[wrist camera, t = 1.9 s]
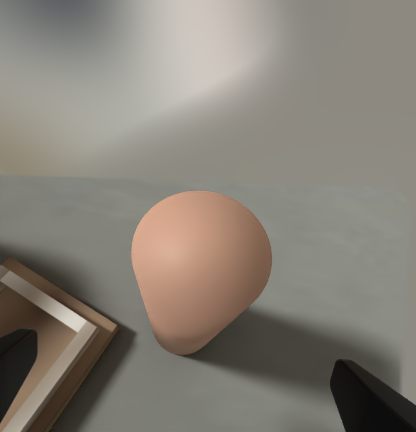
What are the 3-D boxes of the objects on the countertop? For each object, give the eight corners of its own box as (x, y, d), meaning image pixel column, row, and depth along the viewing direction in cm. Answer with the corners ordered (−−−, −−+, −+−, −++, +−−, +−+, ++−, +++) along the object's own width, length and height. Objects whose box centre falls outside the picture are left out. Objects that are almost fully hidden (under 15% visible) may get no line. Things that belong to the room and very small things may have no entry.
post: (224, 308, 20) (289, 227, 9) (195, 368, 18) (237, 354, 7) (173, 279, 21) (180, 172, 10) (139, 333, 19) (99, 269, 8)
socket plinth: (119, 328, 19) (114, 322, 17) (2, 499, 14) (-24, 518, 12) (17, 262, 20) (2, 250, 18) (-122, 395, 15) (-162, 398, 13)
